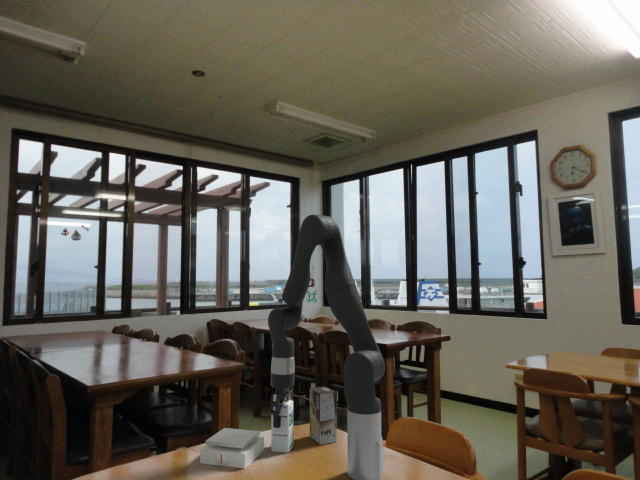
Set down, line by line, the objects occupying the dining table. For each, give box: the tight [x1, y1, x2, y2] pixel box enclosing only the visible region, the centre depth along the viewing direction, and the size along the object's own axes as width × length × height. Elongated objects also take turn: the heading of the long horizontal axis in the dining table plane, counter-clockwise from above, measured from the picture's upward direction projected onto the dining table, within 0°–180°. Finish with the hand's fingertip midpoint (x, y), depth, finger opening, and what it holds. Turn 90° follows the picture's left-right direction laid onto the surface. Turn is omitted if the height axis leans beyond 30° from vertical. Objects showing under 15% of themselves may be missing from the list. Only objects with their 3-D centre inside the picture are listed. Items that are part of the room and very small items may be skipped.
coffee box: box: [309, 386, 338, 445], centre depth 151 cm, size 9×6×16 cm
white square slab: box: [199, 436, 265, 470], centre depth 134 cm, size 14×15×4 cm
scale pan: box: [205, 427, 261, 448], centre depth 135 cm, size 12×12×1 cm
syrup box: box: [270, 399, 295, 454], centre depth 142 cm, size 6×6×14 cm
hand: (281, 423), depth 142 cm, fingers open, 8 cm apart
